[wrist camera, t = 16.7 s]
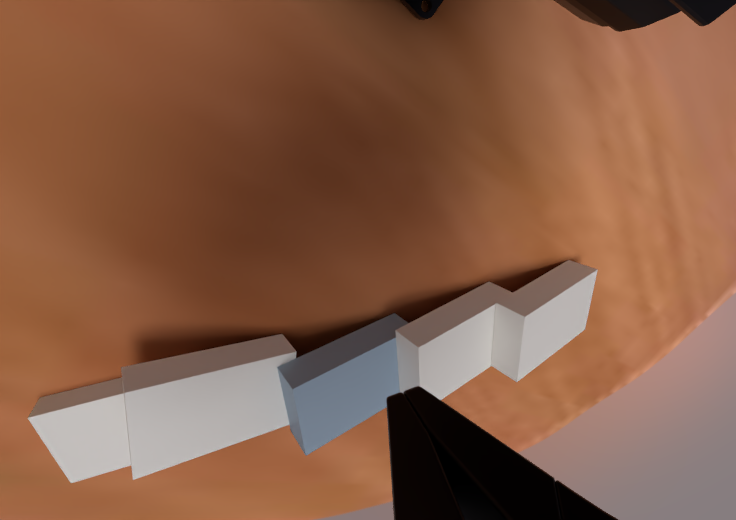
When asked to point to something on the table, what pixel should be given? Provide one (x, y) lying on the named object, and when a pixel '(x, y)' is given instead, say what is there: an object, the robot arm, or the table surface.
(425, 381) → the domino
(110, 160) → the table surface
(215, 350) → the domino
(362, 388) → the domino
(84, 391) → the domino
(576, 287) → the domino
